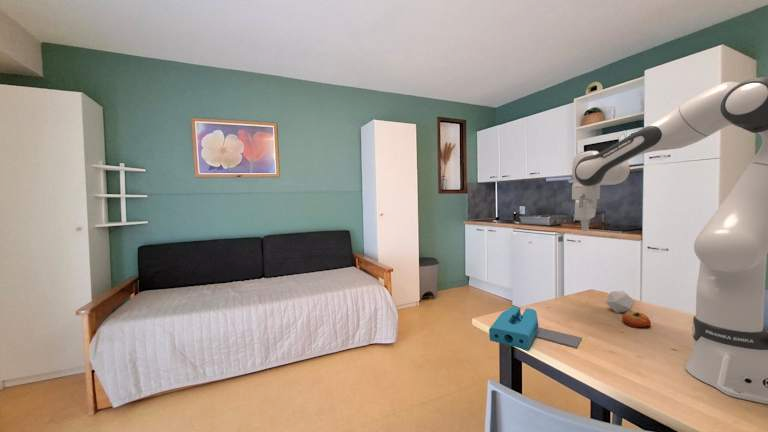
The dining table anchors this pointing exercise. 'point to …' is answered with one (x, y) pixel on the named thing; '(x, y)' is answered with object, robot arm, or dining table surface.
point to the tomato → (636, 319)
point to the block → (515, 328)
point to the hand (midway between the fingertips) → (585, 230)
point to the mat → (558, 337)
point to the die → (620, 302)
